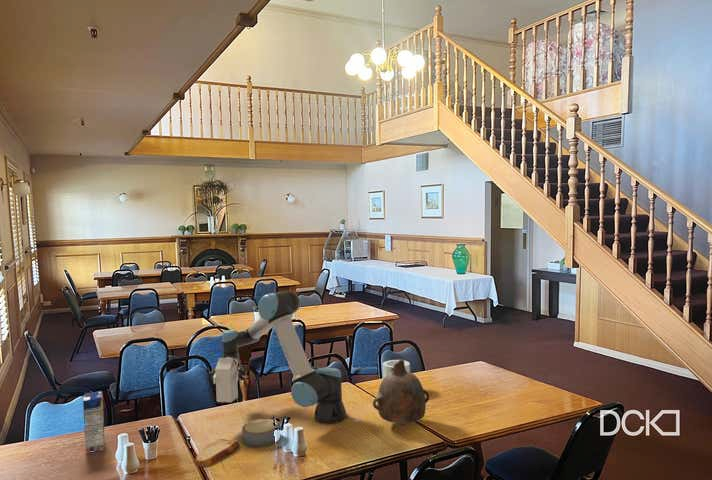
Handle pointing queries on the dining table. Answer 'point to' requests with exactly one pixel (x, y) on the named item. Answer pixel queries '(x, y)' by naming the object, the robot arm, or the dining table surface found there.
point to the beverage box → (94, 421)
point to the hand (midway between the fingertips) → (225, 379)
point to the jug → (401, 396)
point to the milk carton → (226, 380)
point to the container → (390, 364)
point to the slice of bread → (215, 452)
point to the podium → (259, 433)
